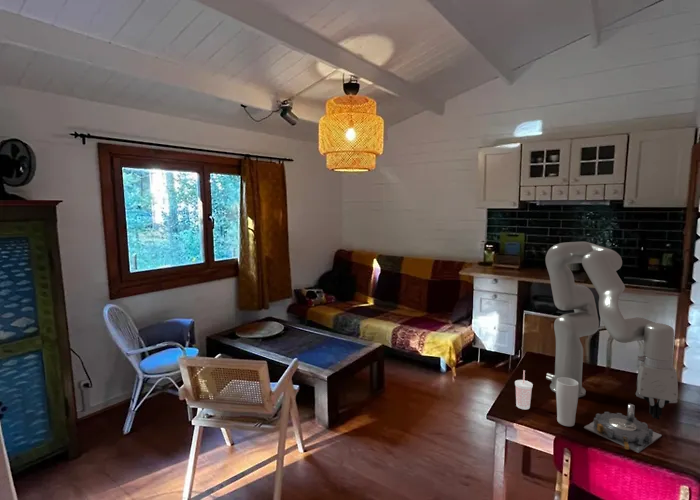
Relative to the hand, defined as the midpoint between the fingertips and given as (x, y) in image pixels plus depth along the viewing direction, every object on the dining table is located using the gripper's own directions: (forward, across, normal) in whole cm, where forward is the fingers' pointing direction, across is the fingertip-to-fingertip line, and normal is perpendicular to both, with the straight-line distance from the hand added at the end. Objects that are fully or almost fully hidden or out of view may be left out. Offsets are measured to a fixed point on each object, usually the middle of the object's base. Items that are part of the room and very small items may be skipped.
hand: (655, 416), depth 128 cm
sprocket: (+5, -9, -4) cm, 12 cm away
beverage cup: (+5, -40, -1) cm, 40 cm away
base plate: (+5, -9, -4) cm, 12 cm away
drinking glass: (+5, -26, -6) cm, 27 cm away
